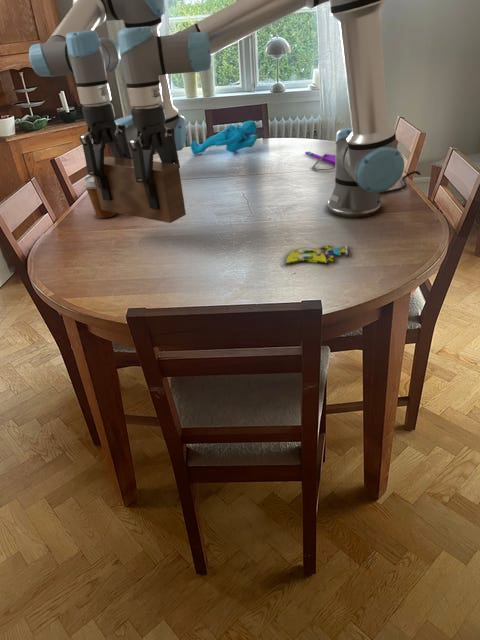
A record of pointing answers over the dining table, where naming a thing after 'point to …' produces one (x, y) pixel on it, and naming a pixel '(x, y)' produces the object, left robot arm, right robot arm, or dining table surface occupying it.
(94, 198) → the disposable coffee cup
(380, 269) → the dining table surface
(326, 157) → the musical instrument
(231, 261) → the dining table surface
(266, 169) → the dining table surface
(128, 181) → the box
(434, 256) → the dining table surface
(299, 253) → the toy
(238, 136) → the toy
